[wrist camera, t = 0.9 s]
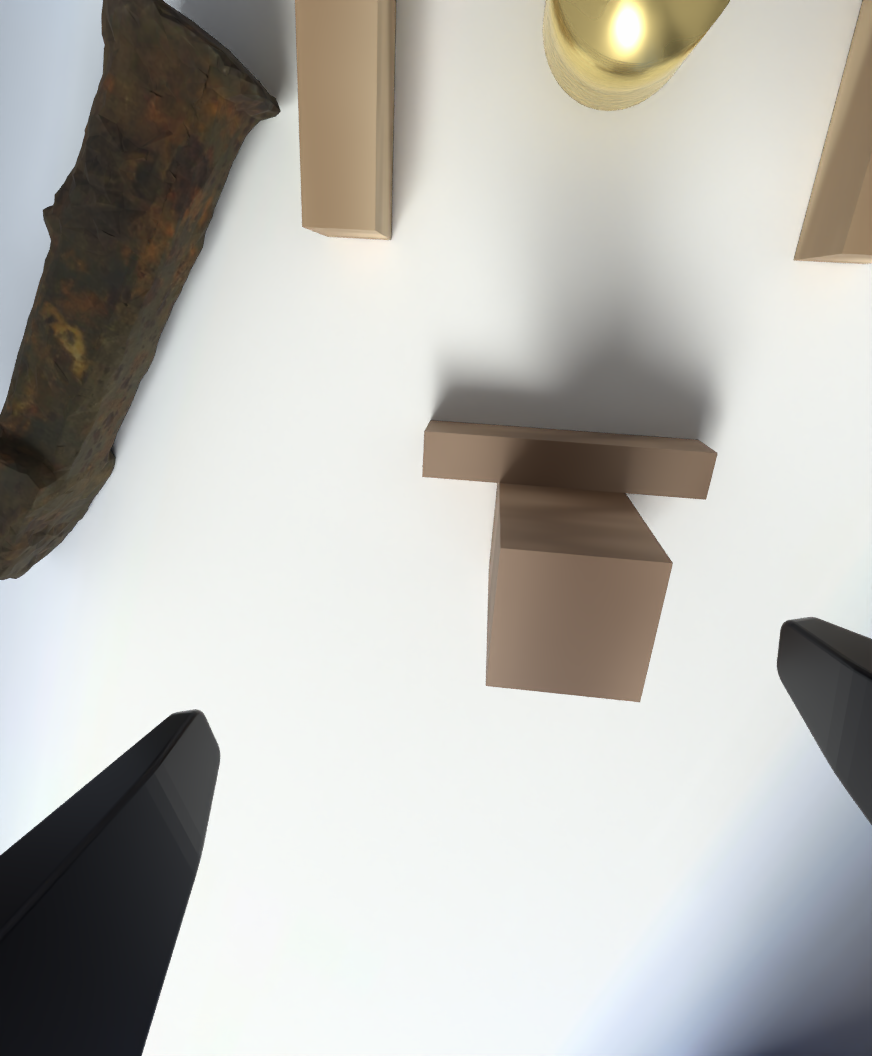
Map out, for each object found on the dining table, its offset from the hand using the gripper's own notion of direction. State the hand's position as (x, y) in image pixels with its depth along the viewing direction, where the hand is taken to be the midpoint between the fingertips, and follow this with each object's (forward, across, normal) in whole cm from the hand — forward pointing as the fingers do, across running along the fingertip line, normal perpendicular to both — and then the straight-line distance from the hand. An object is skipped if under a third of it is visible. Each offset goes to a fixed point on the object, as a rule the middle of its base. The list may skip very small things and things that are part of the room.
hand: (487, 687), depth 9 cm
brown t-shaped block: (+12, -3, +3) cm, 13 cm away
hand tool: (+14, +10, -5) cm, 18 cm away
